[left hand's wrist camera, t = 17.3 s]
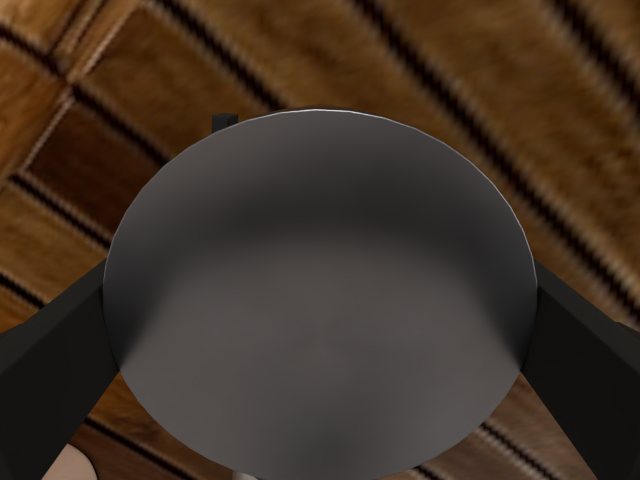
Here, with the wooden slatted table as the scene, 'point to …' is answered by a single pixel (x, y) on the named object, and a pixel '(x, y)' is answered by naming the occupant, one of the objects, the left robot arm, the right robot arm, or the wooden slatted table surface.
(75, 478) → the anatomical model
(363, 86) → the wooden slatted table surface
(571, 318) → the left robot arm
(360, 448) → the lid
